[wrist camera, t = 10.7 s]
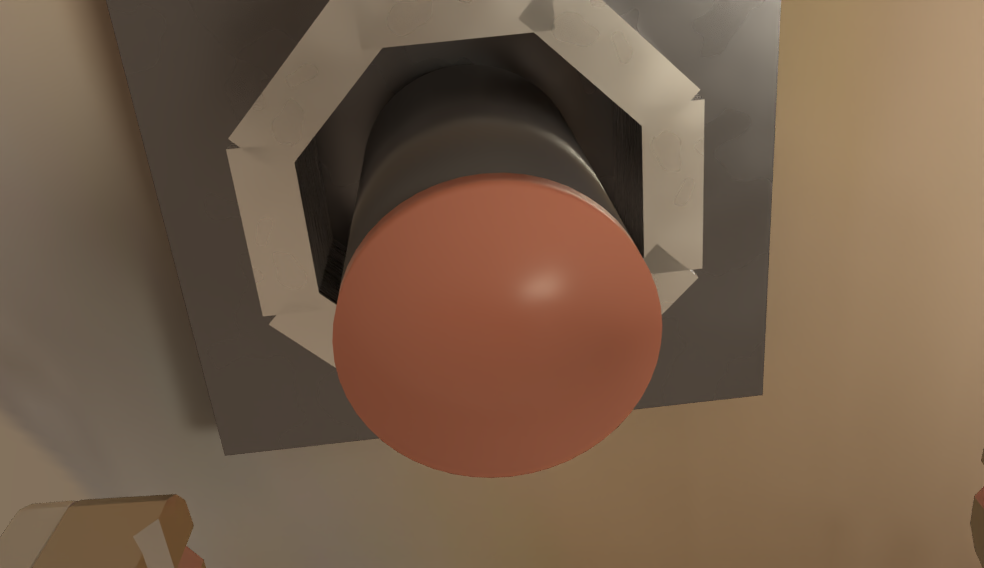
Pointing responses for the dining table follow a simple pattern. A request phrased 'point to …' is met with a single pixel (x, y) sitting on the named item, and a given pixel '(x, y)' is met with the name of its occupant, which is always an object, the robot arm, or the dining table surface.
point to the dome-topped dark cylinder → (489, 283)
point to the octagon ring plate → (341, 148)
